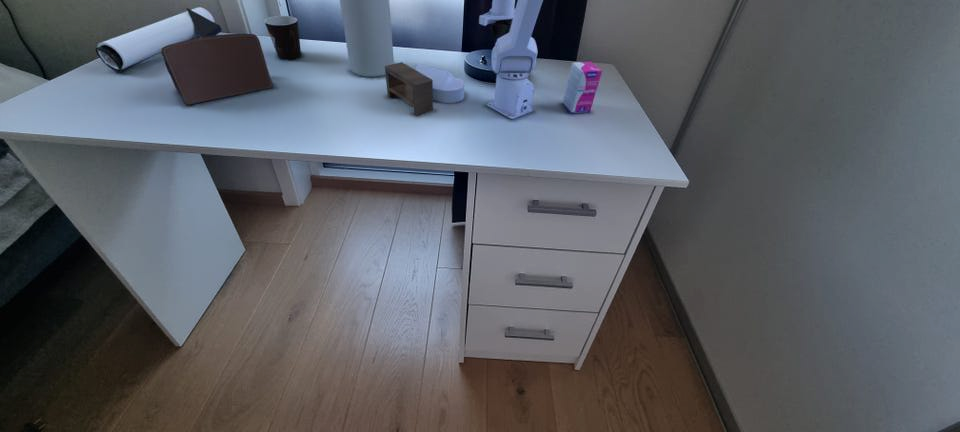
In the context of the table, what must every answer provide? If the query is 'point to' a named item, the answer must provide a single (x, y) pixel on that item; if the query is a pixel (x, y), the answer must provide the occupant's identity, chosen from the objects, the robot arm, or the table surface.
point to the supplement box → (581, 87)
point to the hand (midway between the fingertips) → (499, 49)
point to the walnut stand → (410, 87)
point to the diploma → (155, 38)
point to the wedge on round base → (443, 84)
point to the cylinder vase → (368, 36)
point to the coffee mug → (284, 36)
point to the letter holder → (216, 67)
